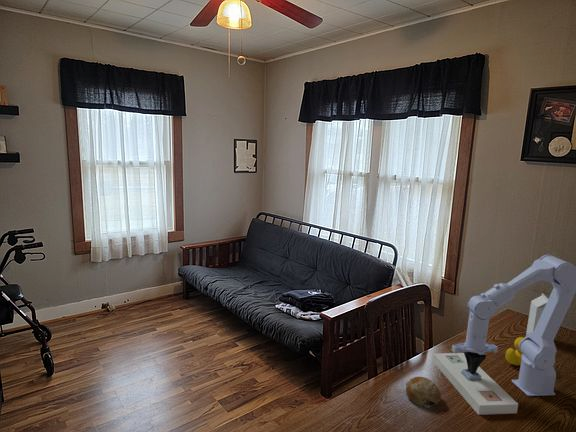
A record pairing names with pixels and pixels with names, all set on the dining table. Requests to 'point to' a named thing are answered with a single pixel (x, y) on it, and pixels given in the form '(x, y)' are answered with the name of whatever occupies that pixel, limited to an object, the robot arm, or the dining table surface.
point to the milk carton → (536, 312)
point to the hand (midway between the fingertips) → (471, 372)
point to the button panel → (475, 386)
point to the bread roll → (423, 392)
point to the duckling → (514, 353)
